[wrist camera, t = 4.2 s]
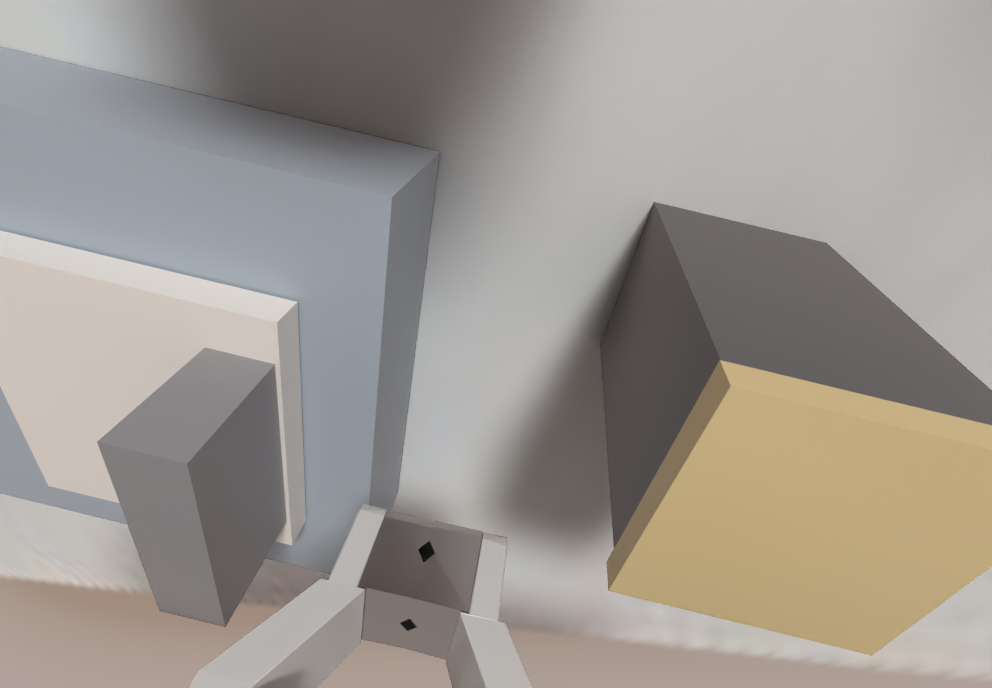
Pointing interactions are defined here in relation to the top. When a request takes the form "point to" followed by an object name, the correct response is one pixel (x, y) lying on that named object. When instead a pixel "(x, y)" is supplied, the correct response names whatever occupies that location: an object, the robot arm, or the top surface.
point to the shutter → (160, 410)
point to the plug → (786, 439)
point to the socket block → (236, 253)
